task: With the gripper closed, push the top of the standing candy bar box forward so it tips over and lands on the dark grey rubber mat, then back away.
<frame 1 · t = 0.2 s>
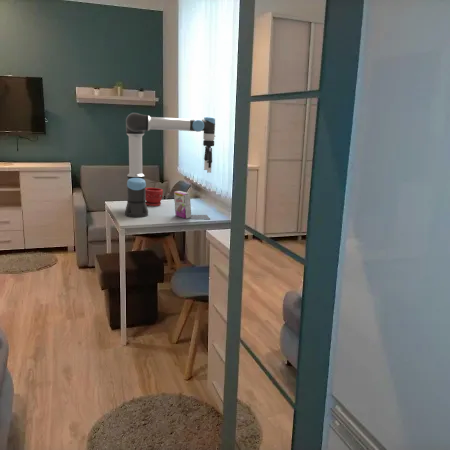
hand: (207, 171, 303), 28 cm above the table, tool pointing down, fingers open, 13 cm apart
plant pot: (153, 205, 320), on the table
candy bar box: (183, 216, 286), on the table, touching rubber mat
rubber mat: (198, 217, 288), on the table
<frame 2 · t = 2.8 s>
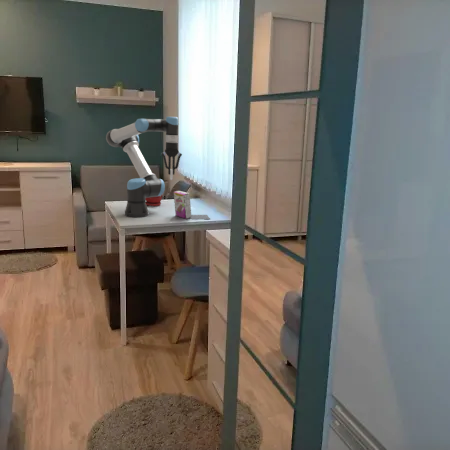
hand: (171, 179, 278), 25 cm above the table, tool pointing down, fingers closed
nothing on the table moved.
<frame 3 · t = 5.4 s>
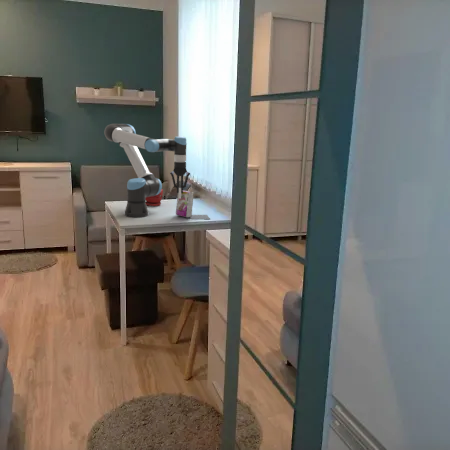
hand: (179, 198, 282), 13 cm above the table, tool pointing down, fingers closed
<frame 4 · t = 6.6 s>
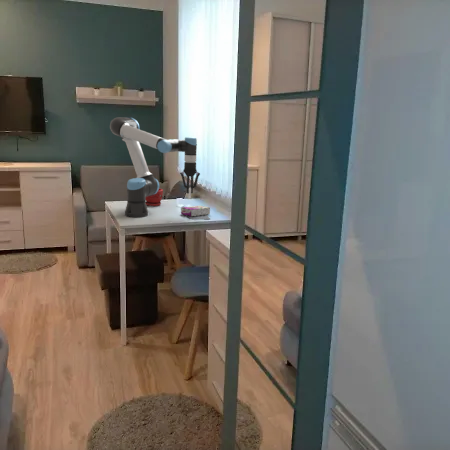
hand: (189, 198, 284), 13 cm above the table, tool pointing down, fingers closed
candy bar box: (185, 211, 288), point 3 cm above the table, touching rubber mat
everything else where it was.
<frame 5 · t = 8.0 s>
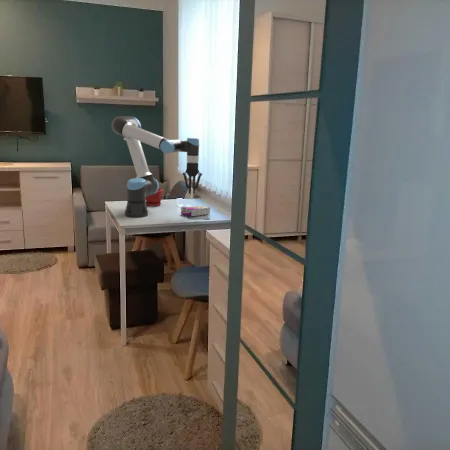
hand: (191, 198, 284), 12 cm above the table, tool pointing down, fingers closed
nothing on the table moved.
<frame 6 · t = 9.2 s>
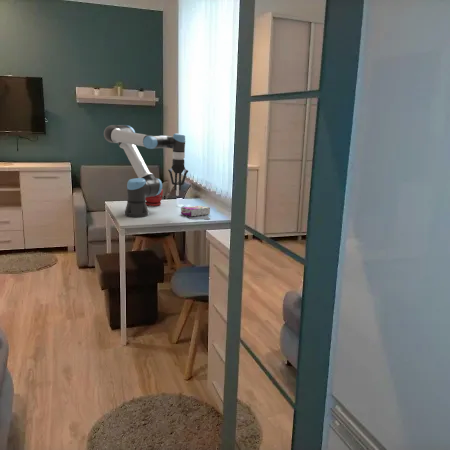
hand: (177, 195, 282), 14 cm above the table, tool pointing down, fingers closed
nothing on the table moved.
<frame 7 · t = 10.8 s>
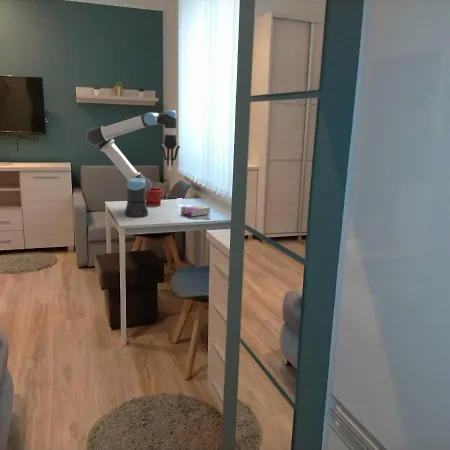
hand: (169, 170, 292), 28 cm above the table, tool pointing down, fingers closed
nothing on the table moved.
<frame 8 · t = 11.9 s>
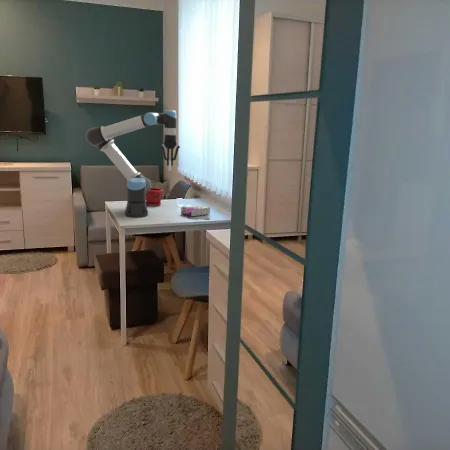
hand: (169, 170, 292), 28 cm above the table, tool pointing down, fingers closed
nothing on the table moved.
at the end: candy bar box tilted 92°; candy bar box inside the target area (5.7 cm from its centre), point 3.1 cm above the table; the gripper is holding nothing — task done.
